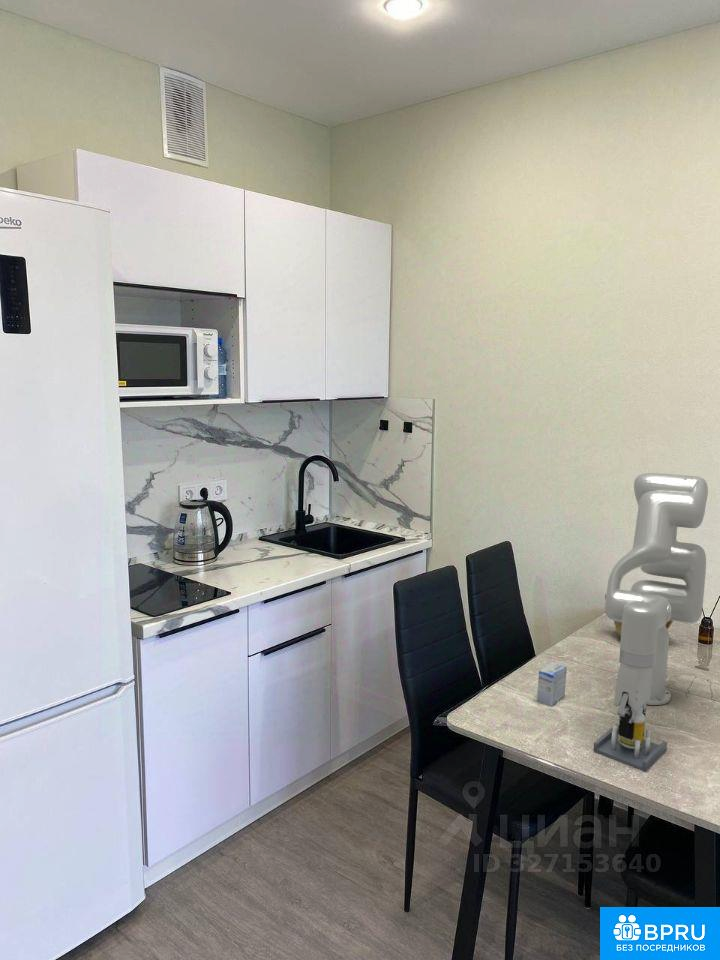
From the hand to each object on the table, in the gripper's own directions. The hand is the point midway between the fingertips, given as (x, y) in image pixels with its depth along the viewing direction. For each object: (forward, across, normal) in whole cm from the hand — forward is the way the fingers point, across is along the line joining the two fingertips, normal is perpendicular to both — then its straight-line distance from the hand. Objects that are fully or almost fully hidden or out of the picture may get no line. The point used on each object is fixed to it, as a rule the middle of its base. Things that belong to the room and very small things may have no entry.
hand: (631, 731), depth 164 cm
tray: (+5, 0, 0) cm, 5 cm away
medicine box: (+5, -11, -26) cm, 29 cm away
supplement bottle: (+3, 0, 0) cm, 3 cm away
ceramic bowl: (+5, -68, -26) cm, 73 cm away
